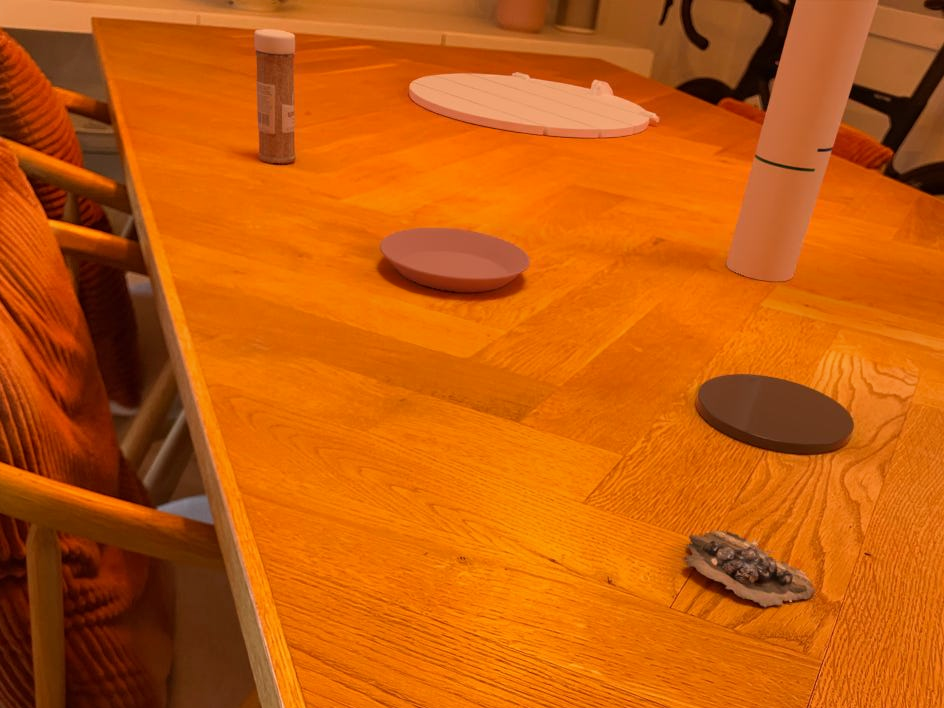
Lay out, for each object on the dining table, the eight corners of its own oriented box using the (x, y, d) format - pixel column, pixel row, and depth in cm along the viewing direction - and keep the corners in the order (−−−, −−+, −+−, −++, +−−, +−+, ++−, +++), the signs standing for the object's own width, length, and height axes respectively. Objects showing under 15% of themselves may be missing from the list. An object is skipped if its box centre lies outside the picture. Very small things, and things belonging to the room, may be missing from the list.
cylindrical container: (806, 277, 105) (894, 1, 90) (761, 284, 102) (845, -2, 86) (757, 255, 110) (833, -12, 94) (712, 261, 106) (783, -15, 91)
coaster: (862, 411, 79) (866, 402, 79) (834, 470, 71) (838, 460, 70) (719, 370, 83) (721, 361, 82) (675, 421, 74) (678, 411, 74)
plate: (548, 299, 92) (551, 278, 90) (398, 300, 88) (399, 277, 86) (500, 248, 102) (503, 228, 101) (365, 246, 98) (365, 226, 97)
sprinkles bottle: (300, 164, 119) (300, 36, 111) (264, 165, 117) (261, 34, 109) (288, 154, 122) (287, 28, 114) (252, 155, 120) (249, 27, 112)
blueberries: (688, 529, 62) (695, 503, 61) (816, 560, 61) (826, 534, 60) (674, 586, 57) (682, 559, 56) (814, 621, 56) (826, 594, 54)
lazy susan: (531, 77, 183) (533, 56, 181) (699, 127, 162) (704, 104, 160) (359, 85, 160) (360, 61, 158) (530, 146, 139) (534, 119, 137)
